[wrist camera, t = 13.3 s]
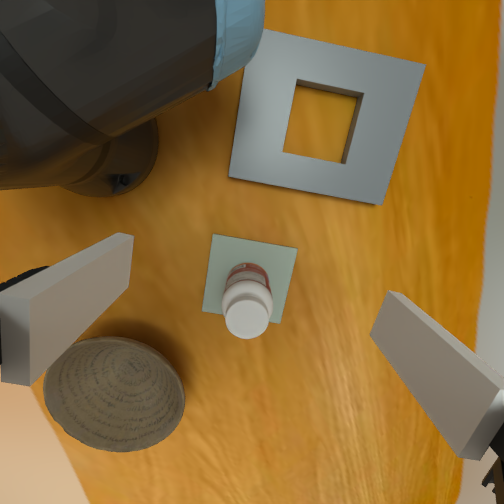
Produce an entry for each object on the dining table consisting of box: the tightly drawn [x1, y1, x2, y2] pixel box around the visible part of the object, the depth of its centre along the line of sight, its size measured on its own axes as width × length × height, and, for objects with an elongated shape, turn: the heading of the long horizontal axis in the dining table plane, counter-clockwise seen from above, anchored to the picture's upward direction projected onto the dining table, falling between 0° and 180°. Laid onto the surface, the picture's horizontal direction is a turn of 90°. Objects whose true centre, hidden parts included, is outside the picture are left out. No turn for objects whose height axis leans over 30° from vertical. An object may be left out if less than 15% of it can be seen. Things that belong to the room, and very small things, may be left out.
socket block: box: [228, 29, 426, 205], centre depth 33 cm, size 20×16×2 cm
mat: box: [202, 234, 298, 324], centre depth 40 cm, size 12×12×1 cm
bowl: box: [43, 336, 185, 452], centre depth 40 cm, size 18×18×8 cm
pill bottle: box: [222, 262, 273, 339], centre depth 34 cm, size 6×6×11 cm
